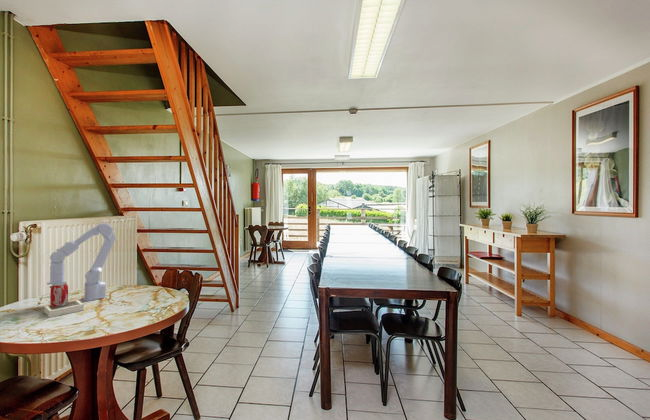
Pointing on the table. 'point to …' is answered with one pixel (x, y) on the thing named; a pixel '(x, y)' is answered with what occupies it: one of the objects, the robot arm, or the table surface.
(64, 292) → the soda can
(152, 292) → the table surface
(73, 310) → the frame
